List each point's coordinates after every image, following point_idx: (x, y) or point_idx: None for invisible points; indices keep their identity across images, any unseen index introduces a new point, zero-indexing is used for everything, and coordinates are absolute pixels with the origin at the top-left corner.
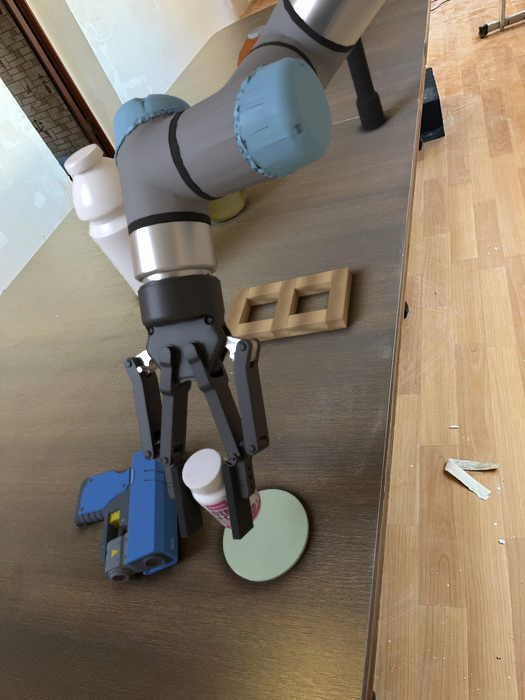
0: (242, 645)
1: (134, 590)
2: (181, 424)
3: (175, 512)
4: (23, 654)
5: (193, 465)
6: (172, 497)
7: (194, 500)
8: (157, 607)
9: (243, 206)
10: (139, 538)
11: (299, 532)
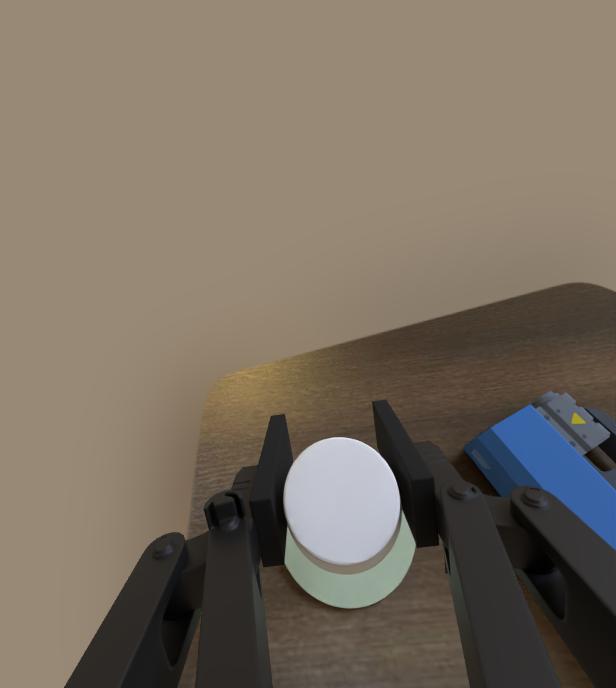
0: (327, 384)
1: (510, 402)
2: (466, 644)
3: None
4: (607, 307)
5: (367, 498)
6: (425, 443)
7: (388, 464)
8: (458, 392)
9: None
10: (539, 443)
11: (287, 526)
